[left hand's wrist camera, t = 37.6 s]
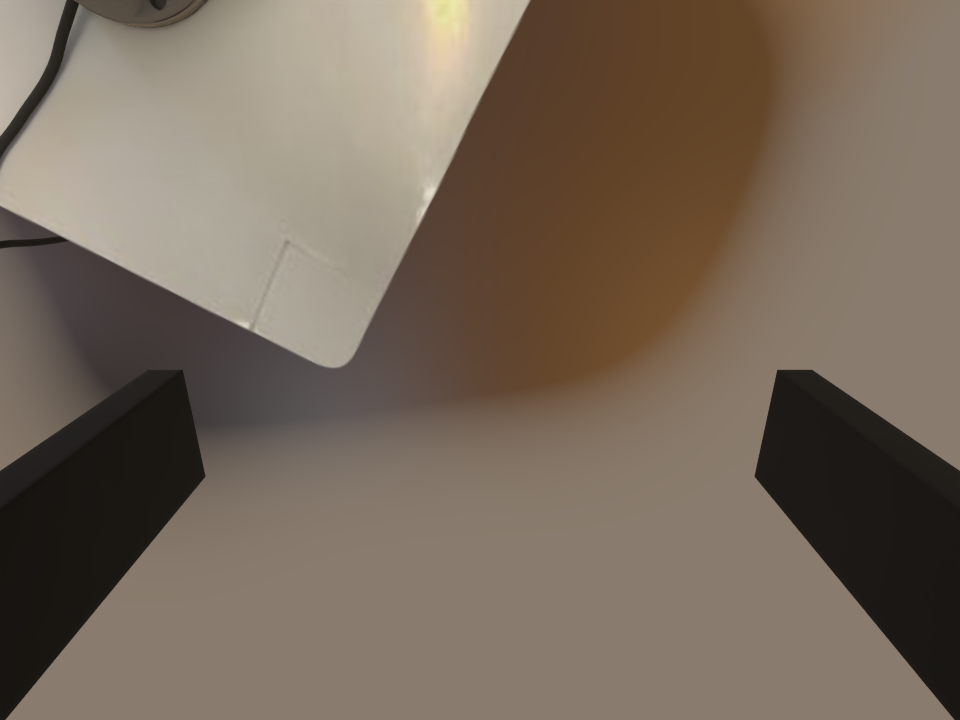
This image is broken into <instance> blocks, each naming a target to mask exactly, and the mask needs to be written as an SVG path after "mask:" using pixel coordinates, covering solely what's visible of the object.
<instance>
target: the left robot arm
mask: <svg viewBox="0 0 960 720" xmlns="http://www.w3.org/2000/svg"><path fill="white" fill-rule="evenodd" d="M205 1H206V0H67V1H66V4H65V7H64V10H63V14H62V17H61V20H60V23H59V26H58V30H57V33H56V37H55V41H54V45H53V49H52V53H51V56H50V59H49V62H48V65H47V67H46V69H45V71H44V73H43V75H42V77H41V79H40V80H39V82H38V84H37V85H36V87H35V88H34V90H33V91H32V93H31V94H30V95H29V97H28V98H27V100H26V101H25V103H24V104H23V105H22V107H21V108H20V110H19V111H18V113H17V114H16V116H15V117H14V119H13V120H12V122H11V123H10V125H9V126H8V127H7V129H6V130H5V131H4V133H3V134H2V135H1V137H0V158H1V156H2V154H3V152H4V151H5V149H6V148H7V146H8V145H9V144H10V142H11V141H12V140H13V138H14V137H15V136H16V135H17V133H18V132H19V131H20V129H21V128H22V126H23V125H24V123H25V122H26V120H27V119H28V117H29V116H30V114H31V113H32V112H33V110H34V109H35V107H36V106H37V105H38V103H39V102H40V100H41V99H42V98H43V96H44V95H45V93H46V92H47V90H48V89H49V87H50V85H51V84H52V82H53V80H54V78H55V76H56V74H57V72H58V70H59V67H60V65H61V62H62V59H63V55H64V51H65V47H66V43H67V39H68V36H69V33H70V30H71V27H72V24H73V20H74V17H75V14H76V11H77V8H78V5H79V4H81V5H82V6H84V7H85V8H87V9H89V10H91V11H92V12H94V13H96V14H98V15H101V16H103V17H106V18H108V19H111V20H114V21H117V22H120V23H124V24H127V25H132V26H137V27H159V26H165V25H169V24H173V23H175V22H178V21H180V20H182V19H184V18H186V17H187V16H189V15H191V14H192V13H193V12H195V11H196V10H197V9H198V8H199V7H200V6H201V5H202V4H203V3H204V2H205ZM67 241H70V240H68V239H66V238H64V237H62V236H57V237H50V238H41V239H24V240H4V241H0V249H1V248H10V247H29V246H40V245H48V244H55V243H61V242H67ZM204 478H205V472H204V468H203V463H202V459H201V454H200V449H199V444H198V440H197V435H196V430H195V426H194V421H193V416H192V412H191V407H190V402H189V397H188V393H187V388H186V383H185V379H184V374H183V370H147V371H146V372H144V373H143V374H141V375H140V376H138V377H137V378H135V379H134V380H133V381H131V382H130V383H128V384H127V385H125V386H124V387H122V388H121V389H119V390H118V391H116V392H115V393H113V394H112V395H111V396H109V397H108V398H106V399H105V400H103V401H102V402H100V403H99V404H97V405H96V406H95V407H93V408H92V409H90V410H89V411H87V412H86V413H84V414H83V415H81V416H80V417H78V418H77V419H76V420H74V421H73V422H71V423H70V424H68V425H67V426H65V427H64V428H62V429H61V430H59V431H58V432H57V433H55V434H54V435H52V436H51V437H49V438H48V439H46V440H45V441H43V442H42V443H40V444H39V445H38V446H36V447H35V448H33V449H32V450H30V451H29V452H27V453H26V454H24V455H23V456H22V457H20V458H19V459H17V460H16V461H14V462H13V463H11V464H10V465H8V466H7V467H5V468H4V469H2V470H1V471H0V720H5V719H6V718H7V717H8V716H9V715H10V713H11V712H12V711H13V710H14V709H15V707H16V706H17V705H18V704H19V703H20V701H21V700H22V699H23V698H24V696H25V695H26V694H27V693H28V692H29V690H30V689H31V688H32V687H33V685H34V684H35V683H36V682H37V681H38V679H39V678H40V677H41V676H42V675H43V673H44V672H45V671H46V670H47V668H48V667H49V666H50V665H51V664H52V662H53V661H54V660H55V659H56V657H57V656H58V655H59V654H60V653H61V651H62V650H63V649H64V648H65V647H66V645H67V644H68V643H69V642H70V640H71V639H72V638H73V637H74V636H75V634H76V633H77V632H78V631H79V630H80V628H81V627H82V626H83V625H84V623H85V622H86V621H87V620H88V619H89V617H90V616H91V615H92V614H93V613H94V611H95V610H96V609H97V608H98V606H99V605H100V604H101V603H102V602H103V600H104V599H105V598H106V597H107V595H108V594H109V593H110V592H111V591H112V589H113V588H114V587H115V586H116V585H117V583H118V582H119V581H120V580H121V579H122V577H123V576H124V575H125V574H126V572H127V571H128V570H129V569H130V568H131V566H132V565H133V564H134V563H135V561H136V560H137V559H138V558H139V557H140V555H141V554H142V553H143V552H144V551H145V549H146V548H147V547H148V546H149V544H150V543H151V542H152V541H153V540H154V538H155V537H156V536H157V535H158V534H159V532H160V531H161V530H162V529H163V527H164V526H165V525H166V524H167V523H168V521H169V520H170V519H171V518H172V517H173V515H174V514H175V513H176V512H177V510H178V509H179V508H180V507H181V506H182V504H183V503H184V502H185V501H186V499H187V498H188V497H189V496H190V495H191V493H192V492H193V491H194V490H195V489H196V487H197V486H198V485H199V484H200V482H201V481H202V480H203V479H204ZM755 478H756V479H757V480H758V481H759V482H760V484H761V485H762V486H763V487H764V489H765V490H766V491H767V492H768V493H769V495H770V496H771V497H772V498H773V500H774V501H775V502H776V503H777V504H778V506H779V507H780V508H781V509H782V510H783V512H784V513H785V514H786V515H787V517H788V518H789V519H790V520H791V521H792V523H793V524H794V525H795V526H796V527H797V529H798V530H799V531H800V532H801V534H802V535H803V536H804V537H805V538H806V540H807V541H808V542H809V543H810V544H811V546H812V547H813V548H814V549H815V551H816V552H817V553H818V554H819V555H820V557H821V558H822V559H823V560H824V562H825V563H826V564H827V565H828V566H829V568H830V569H831V570H832V571H833V572H834V574H835V575H836V576H837V577H838V579H839V580H840V581H841V582H842V583H843V585H844V586H845V587H846V588H847V589H848V591H849V592H850V593H851V594H852V596H853V597H854V598H855V599H856V600H857V602H858V603H859V604H860V605H861V606H862V608H863V609H864V610H865V611H866V613H867V614H868V615H869V616H870V617H871V619H872V620H873V621H874V622H875V623H876V625H877V626H878V627H879V628H880V630H881V631H882V632H883V633H884V634H885V636H886V637H887V638H888V639H889V641H890V642H891V643H892V644H893V645H894V647H895V648H896V649H897V650H898V651H899V653H900V654H901V655H902V656H903V658H904V659H905V660H906V661H907V662H908V664H909V665H910V666H911V667H912V668H913V670H914V671H915V672H916V673H917V674H918V676H919V677H920V678H921V679H922V681H923V682H924V683H925V684H926V686H927V687H928V688H929V689H930V690H931V692H932V693H933V694H934V695H935V696H936V698H937V699H938V700H939V701H940V703H941V704H942V705H943V706H944V707H945V709H946V710H947V711H948V712H949V713H950V715H951V716H952V717H953V718H954V720H960V471H959V470H958V469H956V468H955V467H953V466H952V465H950V464H949V463H947V462H946V461H944V460H943V459H941V458H940V457H939V456H937V455H936V454H934V453H933V452H931V451H930V450H928V449H927V448H925V447H924V446H922V445H921V444H920V443H918V442H917V441H915V440H914V439H912V438H911V437H909V436H908V435H906V434H905V433H903V432H902V431H901V430H899V429H898V428H896V427H895V426H893V425H892V424H890V423H889V422H887V421H886V420H884V419H883V418H882V417H880V416H879V415H877V414H876V413H874V412H873V411H871V410H870V409H868V408H867V407H865V406H864V405H863V404H861V403H860V402H858V401H857V400H855V399H854V398H852V397H851V396H849V395H848V394H846V393H845V392H844V391H842V390H841V389H839V388H838V387H836V386H835V385H833V384H832V383H830V382H829V381H828V380H826V379H825V378H823V377H822V376H820V375H819V374H817V373H816V372H814V371H813V370H777V374H776V379H775V383H774V388H773V393H772V397H771V402H770V407H769V412H768V416H767V421H766V426H765V430H764V435H763V440H762V444H761V449H760V454H759V458H758V463H757V468H756V472H755Z"/></svg>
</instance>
